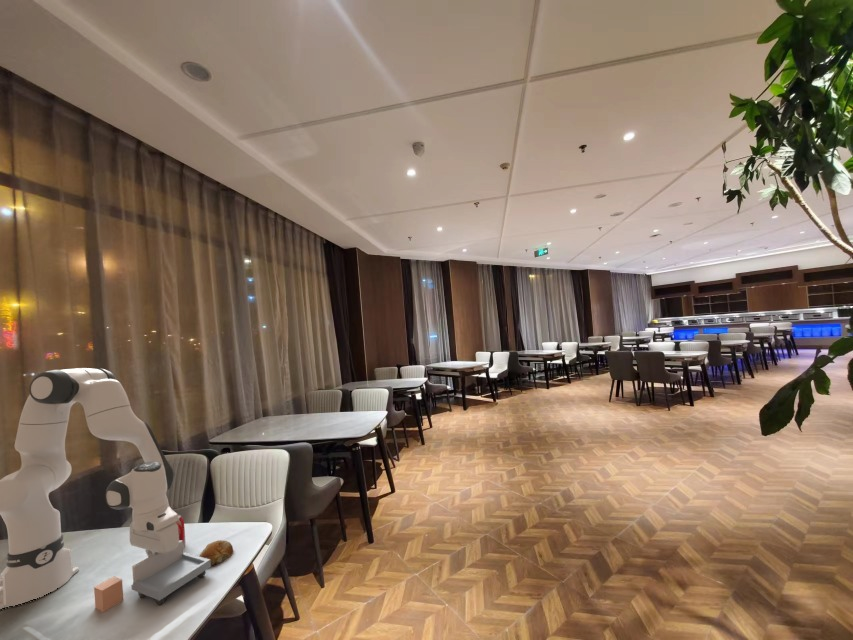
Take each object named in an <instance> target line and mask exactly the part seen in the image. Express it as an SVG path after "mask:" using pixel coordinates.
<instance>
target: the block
mask: <svg viewBox="0 0 853 640" xmlns="http://www.w3.org/2000/svg"><path fill="white" fill-rule="evenodd" d="M123 586H124V585H123V579H122V578H119V577H117V576H112V577H110V578H109V579H106V580H104V581H103V582H102V583H99V584H97V585H95V586H94V587H93V592H94V606H95V607H94V608H95V609H97V610H99V611H100V612H102V613H104V612H106V611H108V610H109V609H111V608H113V607H114V606H116V605H118V604H119V603H121V602H123V601H124V587H123Z"/></svg>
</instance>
